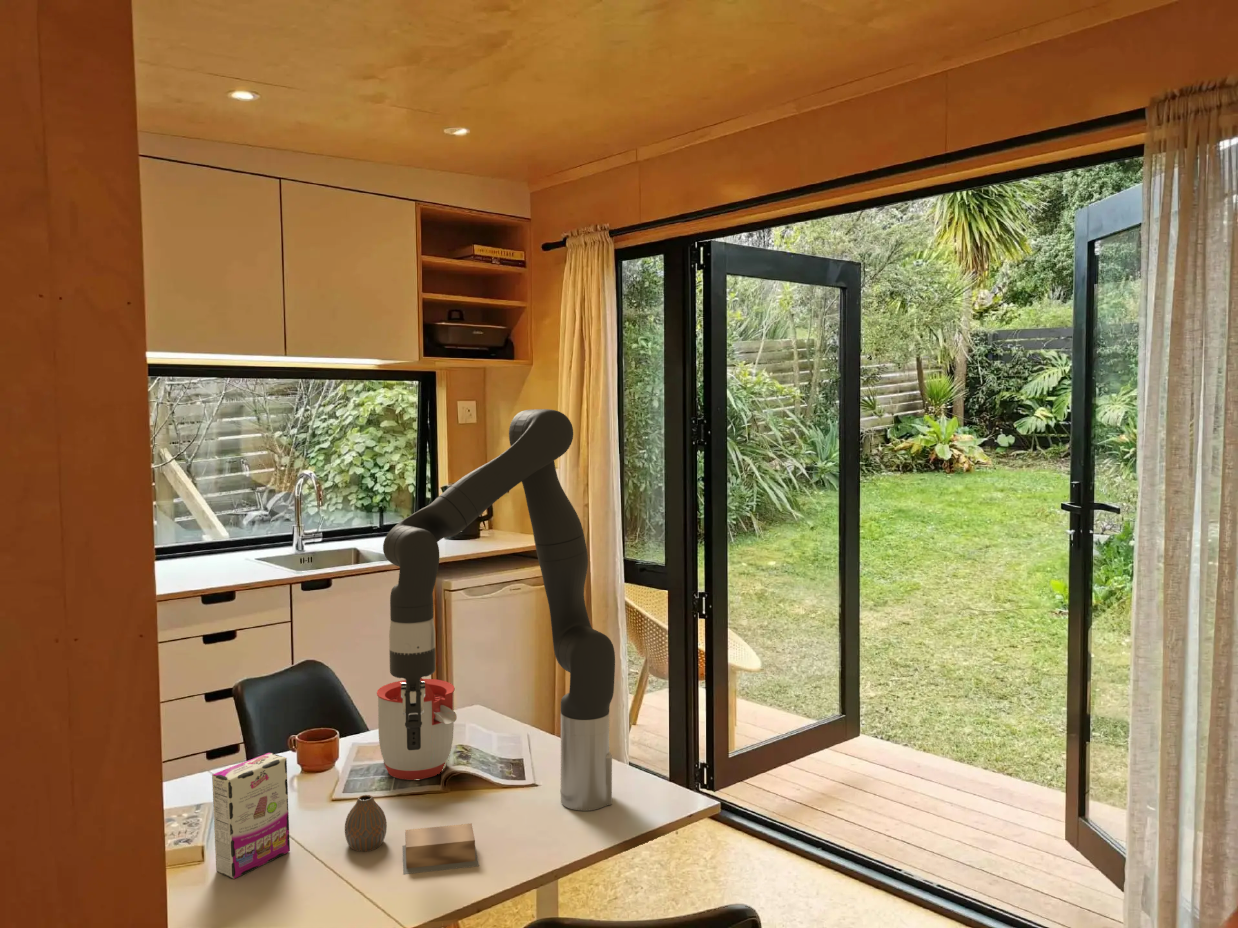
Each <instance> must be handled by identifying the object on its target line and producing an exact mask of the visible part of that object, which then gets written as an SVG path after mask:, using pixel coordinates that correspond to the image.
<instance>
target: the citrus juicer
mask: <svg viewBox="0 0 1238 928" xmlns="http://www.w3.org/2000/svg"><path fill="white" fill-rule="evenodd" d="M423 681H425V697H424V713H423V714H421V722H422V725H421V748H420V749H419V750H408V749H407V728H406V726H405V723H406V716H405V715H404V714H403V699H402V698H401V683H406V680H405V679H404V680H398V681H393V682H390V683H387V684H385V685H383V686H381V687H379V689H377V692H376V696H377V709H378V710H377V712H378V715H377V716H378V717H377V720H378V743H379V747H380V753H381V756H382V759H383V764H384V767H385V770H386V771H387V773H388V774H389V776H392V777H394V778H396V779H398V780H399V779H400V780H410V781H412V780H413V781H415V780H414V779H421V780H423V779H428V778H432V777H435V776H437V774H438V775H440V774H441V773H442V772H443V771H442V769H443V766H444V764H445V760H446V759H447V757H448V756H449V757H450V755H451V751H452V748H453V747H452V746H453V740H454V730H455V729H454V727H455V726H454V725H455V724H454V723H455V722H456V721H457V716H458V715H457V714H456V712H455V711H454V691H455V689H456V687H455V686H454V685H453V683H451V682H448V681H445V680H441V679H435V678H433V679H432V678H423V677H422V678H420V682H423ZM449 754H450V755H449ZM441 771H442V772H441ZM440 772H441V773H440Z"/></svg>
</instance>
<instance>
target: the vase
mask: <svg viewBox="0 0 1238 928" xmlns="http://www.w3.org/2000/svg"><path fill="white" fill-rule="evenodd" d="M387 823H388V822H387V818H386V815H385V812H384V810H383V809H382V807H381V806H380V805H379V804H378V803H377V802H376V801H375V799H374V797H373V796H372V795H370V794H364V795H360V796H359V797H357V800H356V802H355V803H354V805H353V807H351V809H350V811H349V812H348V814H347V816H346V819H345V821H344V835H345V841H346V843H347V844H348V846H349V847H350V849H352V850H353V851H356V852H369V851H373V850H375V849H378V848H379V847H380V846H381V845H382V844H383V842H384V840H385V838H386V834H387V827H388V826H387V825H388V824H387Z"/></svg>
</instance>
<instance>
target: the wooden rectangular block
mask: <svg viewBox="0 0 1238 928" xmlns="http://www.w3.org/2000/svg"><path fill="white" fill-rule="evenodd" d="M404 833H405V845H406V868H415V867H424V866H434V865H443V864H452V863H461V862H470V861H475V847H476V839H475V833H474V828H473V823H464V824H463V823H462V824H452V825H443V826H441V825H440V826H433V827H432V826H431V827H420V828H413V829H412V828H411V829H405V832H404Z"/></svg>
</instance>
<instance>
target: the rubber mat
mask: <svg viewBox="0 0 1238 928" xmlns="http://www.w3.org/2000/svg"><path fill="white" fill-rule="evenodd" d="M474 867H475V868H477V867H480V863H479V858H478V853H477V849H476V846H475V861H470V862H461V863H452V864H443V865H434V866H424V867H415V868H406V844H405V845H402V871H403V873H402V875H410V874H412V875H413V874H419V873H422V874H423V873H428V872H438V871H447V870H456V869H465V868H466V869H467V868H474Z"/></svg>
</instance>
